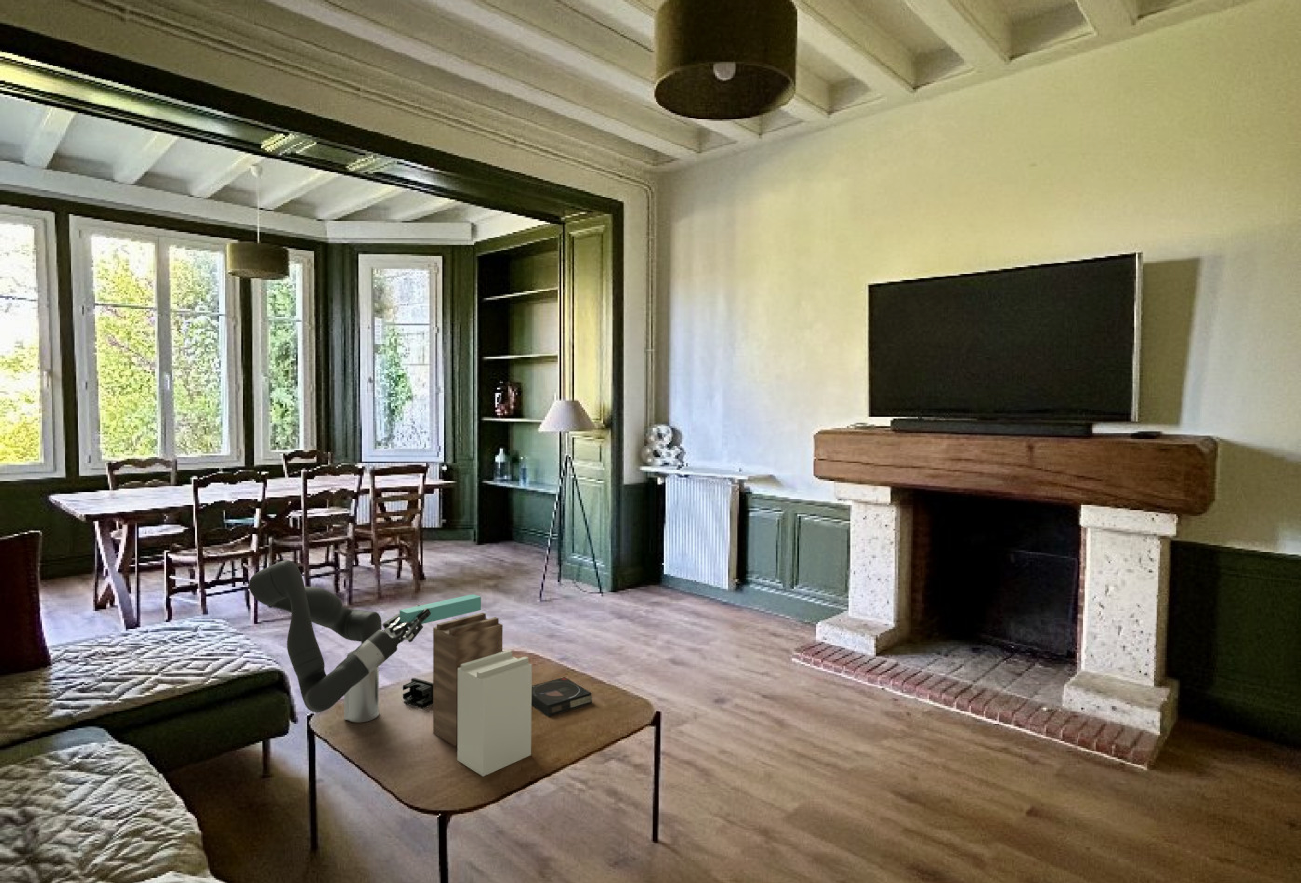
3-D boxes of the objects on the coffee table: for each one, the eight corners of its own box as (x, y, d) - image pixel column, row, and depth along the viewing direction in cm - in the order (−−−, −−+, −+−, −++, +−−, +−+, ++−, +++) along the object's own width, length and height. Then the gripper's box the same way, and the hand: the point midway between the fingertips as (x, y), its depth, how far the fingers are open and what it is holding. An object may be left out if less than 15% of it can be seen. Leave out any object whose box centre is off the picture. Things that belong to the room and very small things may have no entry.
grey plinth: (482, 776, 191) (483, 674, 190) (457, 760, 199) (457, 662, 198) (530, 755, 203) (531, 659, 201) (505, 740, 211) (505, 648, 209)
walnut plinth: (455, 746, 207) (456, 632, 205) (433, 733, 215) (433, 622, 213) (501, 728, 219) (502, 619, 217) (478, 716, 227) (479, 611, 225)
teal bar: (406, 627, 198) (407, 613, 198) (399, 624, 200) (399, 610, 200) (480, 610, 216) (481, 596, 215) (473, 607, 218) (473, 594, 218)
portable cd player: (548, 718, 227) (548, 706, 227) (522, 700, 241) (522, 688, 240) (592, 705, 238) (592, 693, 237) (564, 688, 251) (564, 677, 251)
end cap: (440, 701, 237) (440, 681, 237) (424, 709, 231) (424, 688, 231) (418, 695, 242) (418, 675, 242) (401, 702, 236) (401, 682, 236)
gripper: (380, 647, 187) (432, 604, 197) (354, 634, 196) (405, 593, 207) (394, 668, 190) (444, 624, 201) (368, 655, 200) (417, 613, 210)
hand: (424, 609), depth 204 cm, fingers closed on teal bar, 4 cm apart
